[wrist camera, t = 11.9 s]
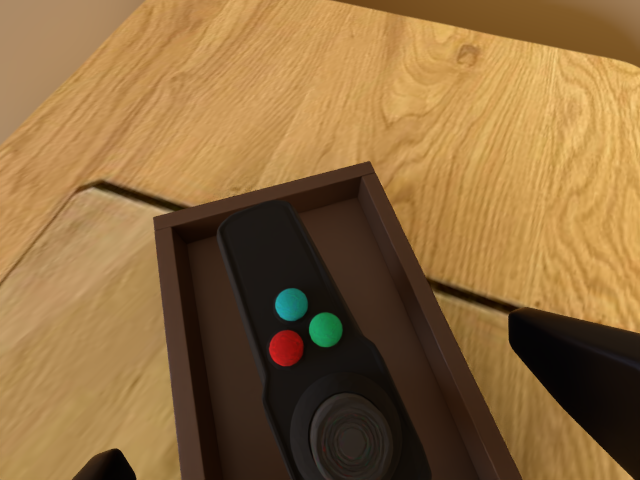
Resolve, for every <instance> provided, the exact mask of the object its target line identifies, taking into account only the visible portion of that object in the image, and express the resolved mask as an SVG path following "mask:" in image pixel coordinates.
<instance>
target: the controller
mask: <svg viewBox="0 0 640 480" xmlns="http://www.w3.org/2000/svg"><path fill="white" fill-rule="evenodd" d="M217 242H218V246H219V249H220V252H221V255H222V258H223V262H224V265H225V268H226V271H227V274H228V278H229V281H230V284H231V287H232V290H233V294H234V297H235V300H236V303H237V306H238V310H239V313H240V316H241V319H242V323H243V326H244V329H245V332H246V335H247V339H248V342H249V345H250V348H251V351H252V355H253V358H254V361H255V364H256V367H257V371H258V374H259V377H260V380H261V383H262V386H263V390H262V397H261V400H262V404H263V408H264V412H265V416H266V419H267V421H268V424H269V426H270V429H271V431H272V434H273V436H274V439H275V441H276V444H277V446H278V449H279V452H280V454H281V457H282V459H283V462H284V464H285V467H286V469H287V472H288V474H289V477H290V479H291V480H432V472H431V469H430V466H429V463H428V460H427V457H426V454H425V451H424V448H423V445H422V443H421V441H420V438H419V436H418V434H417V432H416V430H415V427H414V425H413V423H412V421H411V419H410V416H409V414H408V412H407V410H406V407H405V405H404V403H403V401H402V399H401V396H400V394H399V392H398V390H397V387H396V385H395V383H394V381H393V379H392V376H391V374H390V372H389V370H388V368H387V365H386V363H385V361H384V359H383V357H382V355H381V354H380V352H379V350H378V349H377V347H376V345H375V344H374V343H373V342H372V341H370V340H369V339H368V338H366V337H365V336H364V335H363V333H362V331H361V329H360V327H359V326H358V324H357V322H356V320H355V318H354V316H353V314H352V313H351V311H350V309H349V307H348V305H347V303H346V301H345V300H344V298H343V296H342V294H341V292H340V290H339V288H338V287H337V285H336V283H335V281H334V279H333V277H332V275H331V274H330V272H329V270H328V268H327V266H326V264H325V262H324V260H323V259H322V257H321V255H320V253H319V251H318V249H317V247H316V246H315V244H314V242H313V240H312V238H311V236H310V234H309V232H308V231H307V229H306V227H305V225H304V223H303V222H302V220H301V218H300V216H299V214H298V212H297V210H296V209H295V208H294V207H293V206H292V205H291V204H290V203H289V202H288V201H285V200H270V201H265V202H262V203H259V204H257V205H254V206H251V207H249V208H246V209H243V210H240V211H238V212H235V213H234V214H232V215H230V216H229V217H228V218H226V219H225V220H224V221H223V222H222V223H221V224H220V226H219V227H218V231H217Z"/></svg>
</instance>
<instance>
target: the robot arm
mask: <svg viewBox="0 0 640 480" xmlns="http://www.w3.org/2000/svg"><path fill="white" fill-rule="evenodd" d="M508 331H509V343H510V345H511V347H512V349H513V350H514V352H515V353H516V354H517V355H518V356H519V358H520V359H521V360H522V361H523V362H524V363H525V365H526V366H527V367H528V368H529V369H530V371H531V372H532V373H533V374H534V375H535V376H536V378H537V379H538V380H539V381H540V382H541V383H542V385H543V386H544V387H545V388H546V389H547V391H548V392H549V393H550V394H551V395H552V396H553V398H554V399H555V400H556V401H557V402H558V403H559V404H560V405H561V407H562V408H563V409H564V410H565V411H566V412H567V413H568V414H569V415H570V416H571V417H572V418H573V419H574V420H575V421H576V422H577V423H578V424H579V425H580V426H581V427H582V428H583V429H584V430H585V431H586V432H587V433H588V434H589V435H590V436H591V437H592V438H593V439H594V440H595V441H596V442H597V443H598V444H599V445H600V446H601V447H602V448H603V449H604V450H605V451H606V452H607V453H608V454H609V455H610V456H611V457H612V458H613V459H614V460H615V461H616V462H617V463H618V464H619V465H620V466H621V467H622V468H623V469H624V470H625V471H626V472H627V473H628V474H629V475H630V476H631V477H632V478H633V479H634V480H640V333H636V332H631V331H627V330H623V329H619V328H614V327H610V326H606V325H602V324H597V323H593V322H589V321H585V320H580V319H576V318H572V317H568V316H563V315H559V314H555V313H551V312H546V311H542V310H538V309H533V308H529V307H524V308H521V309H518V310H515V311H512V312H511V313H510V314H509V316H508ZM72 480H136V475H135V473H134V471H133V469H132V468H131V466H130V465H129V463H128V461H127V460H126V458H125V457H124V455H123V453H122V452H121V451H120V450H119V449H111V450H108V451H105V452H102V453H99V454H97V455H95V456H94V457H92V458H91V459H90V460H89V462H88V463H87V464H86V465H85V466H84V467H83V468H82V469H81V470H80V471H79V472H78V473H77V475H76V476H75V477H74V478H73V479H72Z"/></svg>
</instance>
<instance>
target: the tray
mask: <svg viewBox="0 0 640 480" xmlns="http://www.w3.org/2000/svg"><path fill="white" fill-rule="evenodd" d="M270 200H285V201H288V202H289V203H290V204H291V205H292V206H293V207H294V208H295V209H296V210H297V212H298V214H299V216H300V218H301V220H302V222H303V223H304V225H305V227H306V229H307V231H308V232H309V234H310V236H311V238H312V240H313V242H314V244H315V246H316V247H317V249H318V251H319V253H320V255H321V257H322V259H323V260H324V262H325V264H326V266H327V268H328V270H329V272H330V274H331V275H332V277H333V279H334V281H335V283H336V285H337V287H338V288H339V290H340V292H341V294H342V296H343V298H344V300H345V301H346V303H347V305H348V307H349V309H350V311H351V313H352V314H353V316H354V318H355V320H356V322H357V324H358V326H359V327H360V329H361V331H362V333H363V335H364V336H365V337H366V338H368V339H369V340H370V341H372V342H373V343H374V344H375V345H376V347H377V349H378V350H379V352H380V354H381V355H382V357H383V359H384V361H385V363H386V365H387V368H388V370H389V372H390V374H391V376H392V379H393V381H394V383H395V385H396V387H397V390H398V392H399V394H400V396H401V399H402V401H403V403H404V405H405V407H406V410H407V412H408V414H409V416H410V419H411V421H412V423H413V425H414V427H415V430H416V432H417V434H418V436H419V438H420V441H421V443H422V445H423V448H424V451H425V454H426V457H427V460H428V463H429V466H430V469H431V472H432V480H522V477H521V475H520V473H519V471H518V469H517V467H516V465H515V463H514V461H513V459H512V457H511V455H510V452H509V450H508V448H507V446H506V444H505V442H504V440H503V438H502V436H501V434H500V432H499V429H498V427H497V425H496V423H495V421H494V419H493V417H492V415H491V413H490V411H489V409H488V407H487V404H486V402H485V400H484V398H483V396H482V394H481V392H480V390H479V388H478V386H477V384H476V382H475V379H474V377H473V375H472V373H471V371H470V369H469V367H468V365H467V363H466V361H465V359H464V356H463V354H462V352H461V350H460V348H459V346H458V344H457V342H456V340H455V338H454V336H453V334H452V331H451V329H450V327H449V325H448V323H447V321H446V319H445V317H444V315H443V313H442V311H441V308H440V306H439V304H438V302H437V300H436V298H435V296H434V294H433V292H432V290H431V288H430V286H429V283H428V281H427V279H426V277H425V275H424V273H423V271H422V269H421V267H420V265H419V263H418V260H417V258H416V256H415V254H414V252H413V250H412V248H411V246H410V244H409V242H408V240H407V238H406V235H405V233H404V231H403V229H402V227H401V225H400V223H399V221H398V219H397V217H396V215H395V212H394V210H393V208H392V206H391V204H390V202H389V200H388V198H387V196H386V194H385V192H384V190H383V187H382V185H381V183H380V181H379V179H378V177H377V175H376V173H375V171H374V169H373V167H372V165H371V162H370V161H368V162H364V163H360V164H356V165H353V166H349V167H345V168H341V169H337V170H333V171H329V172H326V173H322V174H318V175H314V176H310V177H306V178H303V179H299V180H295V181H291V182H287V183H283V184H279V185H276V186H272V187H268V188H264V189H260V190H256V191H252V192H249V193H245V194H241V195H237V196H233V197H229V198H225V199H222V200H218V201H214V202H210V203H206V204H202V205H199V206H195V207H191V208H187V209H183V210H179V211H175V212H172V213H168V214H164V215H160V216H156V217H153V221H154V230H155V241H156V250H157V260H158V269H159V278H160V287H161V296H162V305H163V314H164V324H165V333H166V342H167V351H168V360H169V369H170V379H171V388H172V397H173V406H174V415H175V424H176V434H177V443H178V452H179V461H180V470H181V479H182V480H291V479H290V477H289V474H288V472H287V469H286V467H285V464H284V462H283V459H282V457H281V454H280V452H279V449H278V446H277V444H276V441H275V439H274V436H273V434H272V431H271V429H270V426H269V424H268V421H267V419H266V416H265V412H264V408H263V404H262V400H261V397H262V390H263V386H262V383H261V380H260V377H259V374H258V371H257V367H256V364H255V361H254V358H253V355H252V351H251V348H250V345H249V342H248V339H247V335H246V332H245V329H244V326H243V323H242V319H241V316H240V313H239V310H238V306H237V303H236V300H235V297H234V294H233V290H232V287H231V284H230V281H229V278H228V274H227V271H226V268H225V265H224V262H223V258H222V255H221V252H220V249H219V246H218V242H217V231H218V227H219V226H220V224H221V223H222V222H223V221H224V220H225V219H226V218H228V217H229V216H230V215H232V214H234V213H235V212H238V211H240V210H243V209H246V208H249V207H251V206H254V205H257V204H259V203H262V202H265V201H270Z"/></svg>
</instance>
